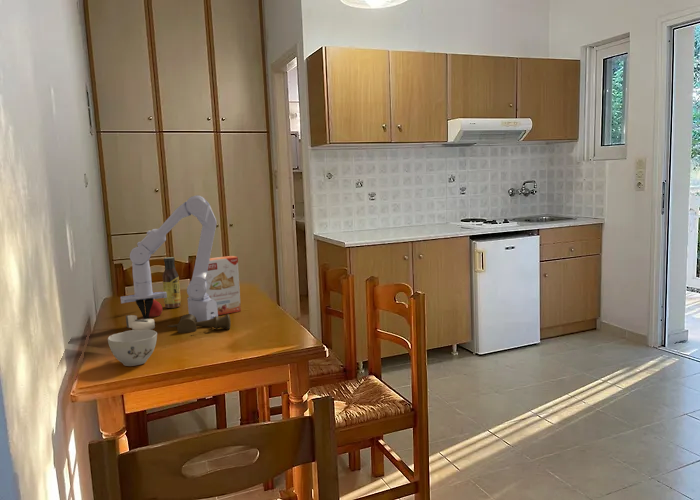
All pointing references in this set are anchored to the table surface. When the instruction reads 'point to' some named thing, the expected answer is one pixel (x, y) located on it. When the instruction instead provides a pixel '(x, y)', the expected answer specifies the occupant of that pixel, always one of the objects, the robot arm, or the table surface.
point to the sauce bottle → (171, 284)
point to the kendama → (201, 323)
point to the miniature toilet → (139, 323)
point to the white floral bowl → (133, 346)
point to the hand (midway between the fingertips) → (146, 321)
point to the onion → (155, 309)
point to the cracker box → (224, 284)
